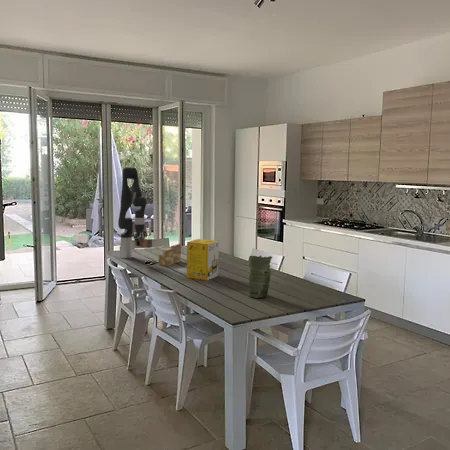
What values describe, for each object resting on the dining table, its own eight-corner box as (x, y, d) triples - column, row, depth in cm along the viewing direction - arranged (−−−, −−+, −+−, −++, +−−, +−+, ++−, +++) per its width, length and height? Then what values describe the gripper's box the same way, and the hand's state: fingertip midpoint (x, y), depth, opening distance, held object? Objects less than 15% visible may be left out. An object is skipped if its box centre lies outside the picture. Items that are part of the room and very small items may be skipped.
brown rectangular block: (134, 246, 356) (134, 238, 356) (138, 245, 360) (138, 237, 359) (148, 247, 351) (148, 240, 350) (151, 246, 355) (151, 239, 354)
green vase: (245, 295, 278) (246, 254, 275) (261, 292, 284) (262, 252, 281) (256, 300, 269) (257, 257, 265) (272, 297, 275) (274, 256, 272)
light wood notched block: (158, 265, 357) (158, 247, 355) (172, 260, 376) (172, 243, 374) (167, 266, 354) (167, 248, 352) (180, 261, 373) (180, 244, 371)
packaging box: (198, 272, 333) (198, 238, 330) (218, 275, 326) (218, 240, 323) (186, 277, 319) (186, 242, 316) (207, 280, 312) (207, 244, 309)
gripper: (140, 221, 362) (140, 243, 365) (130, 224, 350) (130, 246, 352) (148, 222, 359) (148, 244, 362) (138, 224, 347) (138, 247, 349)
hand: (139, 245), depth 357 cm, fingers closed on brown rectangular block, 4 cm apart
